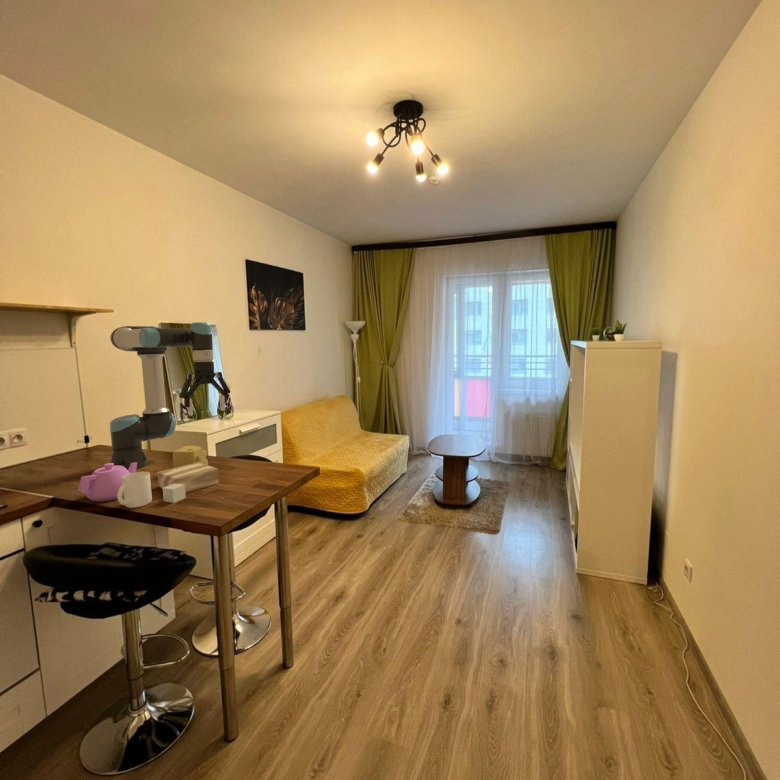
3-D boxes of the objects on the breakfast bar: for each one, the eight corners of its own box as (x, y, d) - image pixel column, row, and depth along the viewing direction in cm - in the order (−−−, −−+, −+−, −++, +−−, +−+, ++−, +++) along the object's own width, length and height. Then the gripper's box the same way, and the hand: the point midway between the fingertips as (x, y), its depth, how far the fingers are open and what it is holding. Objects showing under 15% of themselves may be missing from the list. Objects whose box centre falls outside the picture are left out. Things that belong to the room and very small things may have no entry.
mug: (129, 513, 136) (126, 483, 134) (109, 511, 138) (106, 481, 136) (157, 500, 147) (155, 472, 146) (138, 498, 149) (136, 471, 148)
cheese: (208, 466, 188) (207, 445, 187) (195, 474, 177) (193, 451, 176) (187, 466, 189) (185, 445, 188) (172, 473, 178) (170, 451, 177)
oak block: (158, 486, 161) (157, 472, 161) (197, 476, 174) (196, 462, 173) (178, 495, 152) (177, 479, 151) (218, 482, 165) (217, 468, 164)
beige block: (163, 501, 146) (162, 487, 146) (175, 496, 151) (174, 483, 150) (174, 503, 144) (172, 489, 144) (185, 498, 149) (184, 484, 149)
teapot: (97, 508, 141) (94, 474, 139) (66, 503, 146) (62, 470, 144) (153, 487, 161) (150, 457, 160) (124, 483, 166) (121, 454, 165)
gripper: (175, 362, 154) (180, 418, 156) (236, 359, 173) (239, 409, 175) (167, 362, 159) (171, 416, 161) (227, 359, 178) (230, 408, 180)
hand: (207, 412), depth 168 cm, fingers open, 13 cm apart
